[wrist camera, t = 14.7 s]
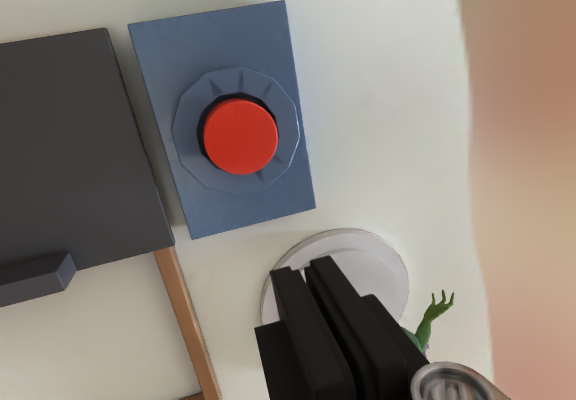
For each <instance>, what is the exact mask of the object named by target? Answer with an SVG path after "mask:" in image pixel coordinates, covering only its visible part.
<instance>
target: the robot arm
mask: <svg viewBox="0 0 576 400" xmlns="http://www.w3.org/2000/svg"><path fill="white" fill-rule="evenodd" d="M304 274H305V280H306V282H305V280H304V278H303V276H302V274H301V272H300V271H299V269H296V270H292V269H291V267H290V266H286V267H283V268H279V269H275V270H272V271H270V276H271V281H272V286H273V290H274V295H275V300H276V305H277V309H278V314H279V319H280V320H279V321H276V322H273V323H269V324H266V325H262V326H259V327H256V328H254V330H255V334H256V339H257V343H258V348H259V352H260V357H261V361H262V366H263V370H264V374H265V379H266V383H267V388H268V392H269V397H270V400H511V399H510V398H508V397H507V396H506V395H505V394H504V393H503V392H501V391H500V390H499V389H498V388H497V387H495V386H494V385H493V384H492V383H491V382H489V381H488V380H487V379H486V378H485V377H483V376H482V375H481V374H479V373H478V372H476V371H475V370H473V369H471V368H469V367H466V366H464V365H461V364H458V363H452V362H434V363H431V364H430V363H429V361H428V360H427V359H426V358H425V356H424V355H423V354H422V353H421V351H420V350H419V349H418V348H417V346H416V345H415V344H414V343H413V341H412V340H411V339H410V338H409V336H408V335H407V334H406V333H405V332H404V330H403V329H402V328H401V327H400V325H399V324H398V323H397V322H396V320H395V319H394V318H393V317H392V315H391V314H390V313H389V312H388V310H387V309H386V308H385V307H384V305H383V304H382V303H381V302H380V300H379V299H378V298H377V297H376V296H375V295H374V294H368V295H365V296H362V297H360V295H359V294H358V292H357V291H356V290H355V288H354V287H353V286H352V284H351V283H350V282H349V280H348V279H347V277H346V276H345V275H344V273H343V272H342V271H341V269H340V268H339V267H338V265H337V264H336V262H335V261H334V260H333V258H332V257H331V256H330V255H327V256H324V257H320V258H316V259H313V260H310V266H307V267H304Z"/></svg>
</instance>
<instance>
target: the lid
mask: <svg viewBox="0 0 576 400" xmlns="http://www.w3.org/2000/svg"><path fill="white" fill-rule="evenodd" d="M174 245H175V239H174V236H173V233H172V230H171V227H170V224H169V221H168V218H167V214H166V211H165V208H164V205H163V202H162V199H161V196H160V193H159V189H158V186H157V183H156V180H155V177H154V174H153V171H152V168H151V164H150V161H149V158H148V155H147V152H146V149H145V146H144V142H143V139H142V136H141V133H140V130H139V127H138V124H137V121H136V117H135V114H134V111H133V108H132V105H131V102H130V99H129V96H128V92H127V89H126V86H125V83H124V80H123V77H122V74H121V71H120V67H119V64H118V61H117V58H116V55H115V52H114V49H113V46H112V42H111V39H110V36H109V33H108V30H107V29H106V28H99V29H92V30H86V31H79V32H73V33H66V34H60V35H54V36H47V37H41V38H34V39H28V40H22V41H15V42H9V43H2V44H0V307H4V306H8V305H12V304H15V303H19V302H23V301H27V300H30V299H34V298H38V297H42V296H46V295H49V294H53V293H57V292H61V291H64V290H65V289H66V288H67V286H68V284H69V282H70V281H71V279H72V277H73V275H74V274H75V272H76V271H78V270H82V269H86V268H90V267H94V266H97V265H101V264H105V263H109V262H113V261H117V260H121V259H125V258H129V257H132V256H136V255H140V254H144V253H148V252H152V251H156V250H160V249H164V248H168V247H171V246H174Z"/></svg>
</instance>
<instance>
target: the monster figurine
mask: <svg viewBox="0 0 576 400" xmlns="http://www.w3.org/2000/svg"><path fill="white" fill-rule="evenodd" d="M327 255H330V256H331V257H332V258H333V260H334V261H335V262H336V264H337V265H338V267H339V268H340V269H341V271H342V272H343V273H344V275H345V276H346V277H347V279H348V280H349V282H350V283H351V284H352V286H353V287H354V288H355V290H356V291H357V292H358V294H359V295H360V297H362V296H365V295H368V294H374V295H375V296H376V297H377V298H378V299H379V300H380V302H381V303H382V304H383V305H384V307H385V308H386V309H387V310H388V312H389V313H390V314H391V315H392V317H393V318H394V319H395V320H396V322H397V323H398V322H399V320H400V318H401V316H402V314H403V312H404V309H405V307H406V304H407V300H408V294H409V279H408V272H407V270H406V267H405V264H404V262H403V260H402V259H401V257H400V255H399V254H398V253H397V252H396V251H395V250H394V249H393V248H392V247H391V246H390V245H389V244H388V243H387V242H385V241H384V240H382V239H381V238H380V237H378V236H376V235H374V234H372V233H369V232H365V231H362V230H355V229H336V230H331V231H327V232H323V233H320V234H317V235H315V236H312V237H310V238H308V239H306V240H304V241H303V242H301V243H299V244H298V245H297V246H295V247H294V248H292V249H291V250H290V251H289V252H288V253H287V254H286V255H285V256H283V257H282V258H281V259H280V261H279V262H278V263H277V265H276V266H275V267H274V268H273V270H275V269H279V268H283V267H286V266H290V267H291V269H292V270H296V269H299V271H300V272H301V274H302V276H303V278H304V280H305V274H304V267H307V266H310V260H313V259H316V258H320V257H324V256H327ZM305 282H306V280H305ZM432 298H433V301H432V304H431V305H430V306H429V307H428V309H427V310H426V312H425V314H424V317H423V320H422V322H421V323H420V325H419V327H418V329H417V331H416V333H415V335H414V334H413V333H411V332H410V331H408V330H406V329H405V328H403V327H401V328H402V329H403V330H404V332H405V333H406V334H407V335H408V336H409V338H410V339H411V340H412V341H413V343H414V344H415V345H416V346H417V348H418V349H419V350H420V351H421V353H423V354H424V356H425V357H426V355H425V350H426V349H427V348H429V345H428V341H429V337H430V333H431V321H432V320H434V319H435V318H437V317H438V316H439V315H441V314H443V313H444V312H445V311H446V310H448V309H449V307H451V306H452V305H453V299H454V292H453V293H452V296H451V299H450V302H449V303H448V304H445V302H446V297H445V293H444V290H443V289H442V298H443V299H442V301H441V302H440V303H439V304H437V305H435V298H434V294H433V293H432ZM260 312H261V318H262V323H263V325H266V324H269V323H273V322H276V321H279V320H280V319H279V314H278V309H277V305H276V300H275V295H274V290H273V286H272V281H271V276H270V275H269V277H268V279H267V281H266V283H265V286H264V289H263V292H262V297H261V308H260ZM426 358H427V357H426Z"/></svg>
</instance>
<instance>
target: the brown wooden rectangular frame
mask: <svg viewBox="0 0 576 400" xmlns="http://www.w3.org/2000/svg"><path fill="white" fill-rule="evenodd" d="M153 252H154V255H155V258H156V261H157V264H158V266H159V269H160V272H161V275H162V278H163V281H164V284H165V287H166V289H167V292H168V295H169V298H170V301H171V304H172V307H173V309H174V312H175V315H176V318H177V321H178V324H179V327H180V329H181V332H182V335H183V338H184V341H185V344H186V347H187V349H188V352H189V355H190V358H191V361H192V364H193V367H194V370H195V372H196V375H197V378H198V381H199V384H200V387H201V390H202V393H199V394H196V395H193V396H190V397H187V398H184V399H181V400H222V395H221V392H220V389H219V386H218V383H217V379H216V376H215V373H214V370H213V367H212V364H211V361H210V358H209V355H208V352H207V349H206V345H205V342H204V339H203V336H202V333H201V330H200V327H199V324H198V321H197V318H196V315H195V311H194V308H193V305H192V302H191V299H190V296H189V293H188V290H187V287H186V284H185V281H184V277H183V274H182V271H181V268H180V265H179V262H178V259H177V256H176V253H175V250H174V247H173V246H171V247H168V248H164V249H160V250H156V251H153Z"/></svg>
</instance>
